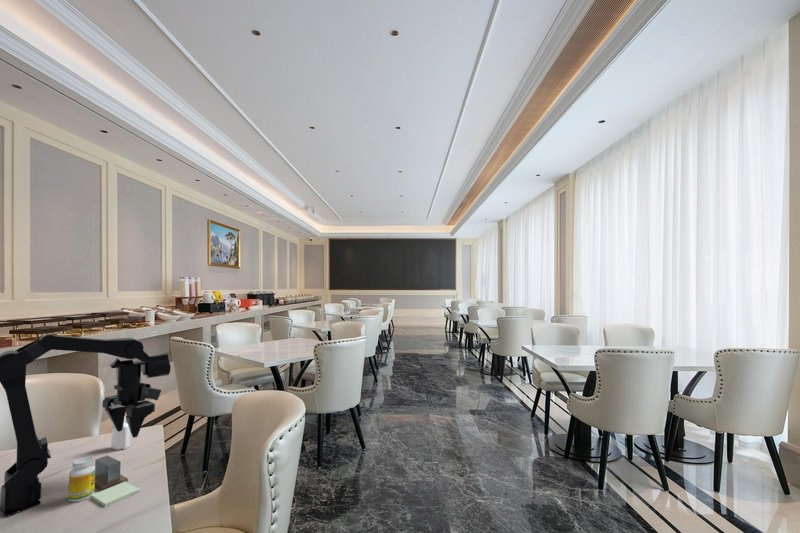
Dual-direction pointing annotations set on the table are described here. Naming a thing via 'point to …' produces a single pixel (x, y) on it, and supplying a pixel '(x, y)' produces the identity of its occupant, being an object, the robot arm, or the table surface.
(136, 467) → the table surface
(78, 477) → the supplement bottle
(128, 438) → the eye dropper bottle
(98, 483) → the mounted unit
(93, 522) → the table surface
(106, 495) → the sage pad
